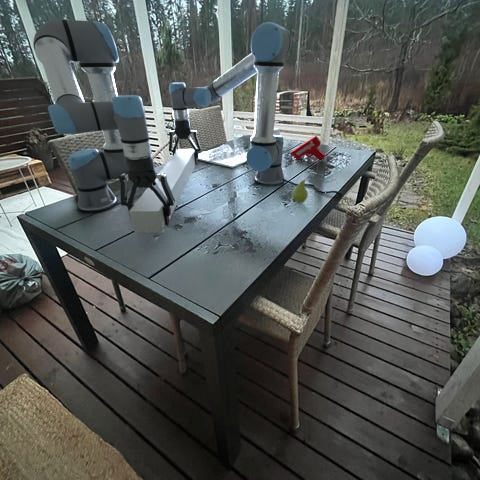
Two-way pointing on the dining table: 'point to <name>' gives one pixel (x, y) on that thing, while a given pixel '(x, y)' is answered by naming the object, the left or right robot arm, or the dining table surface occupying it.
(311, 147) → the toy gun
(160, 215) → the long white beam
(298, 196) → the fruit
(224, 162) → the relief map
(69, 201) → the dining table surface
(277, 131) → the ink box
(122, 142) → the left robot arm
